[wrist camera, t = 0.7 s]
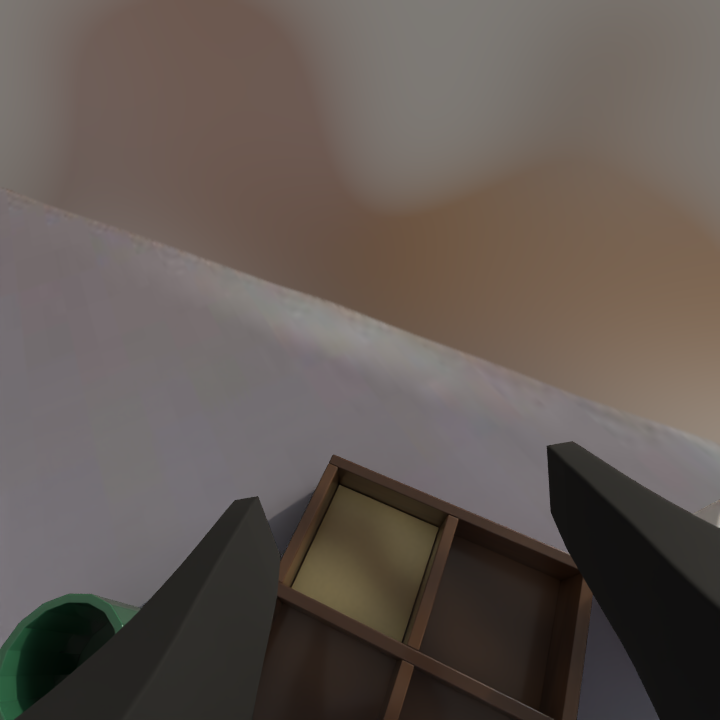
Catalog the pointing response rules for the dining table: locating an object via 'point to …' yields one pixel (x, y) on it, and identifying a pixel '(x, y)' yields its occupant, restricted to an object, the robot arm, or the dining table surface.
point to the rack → (419, 613)
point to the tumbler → (55, 646)
